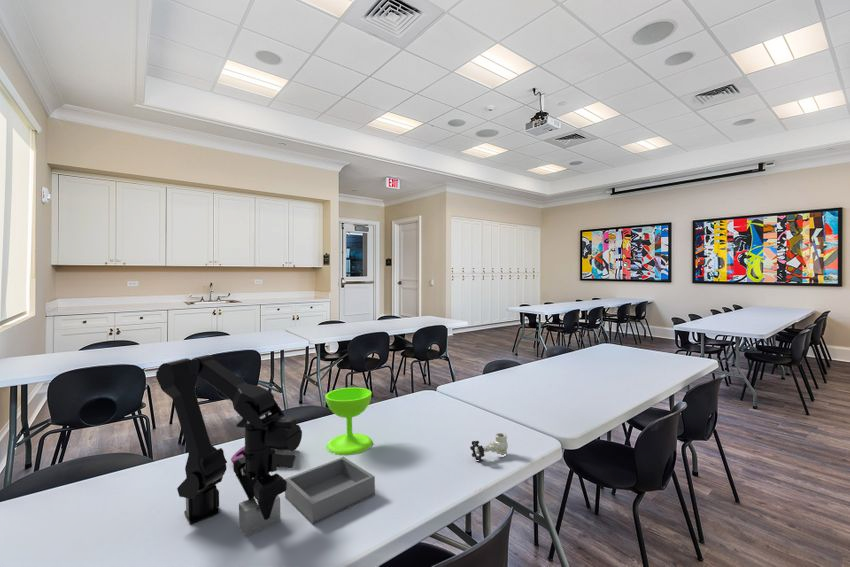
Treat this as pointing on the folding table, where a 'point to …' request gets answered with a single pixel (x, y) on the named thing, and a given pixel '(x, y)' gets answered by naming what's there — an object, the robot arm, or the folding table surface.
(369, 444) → the wineglass
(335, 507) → the open box
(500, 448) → the valve
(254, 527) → the grey bevelled block
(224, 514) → the folding table surface
